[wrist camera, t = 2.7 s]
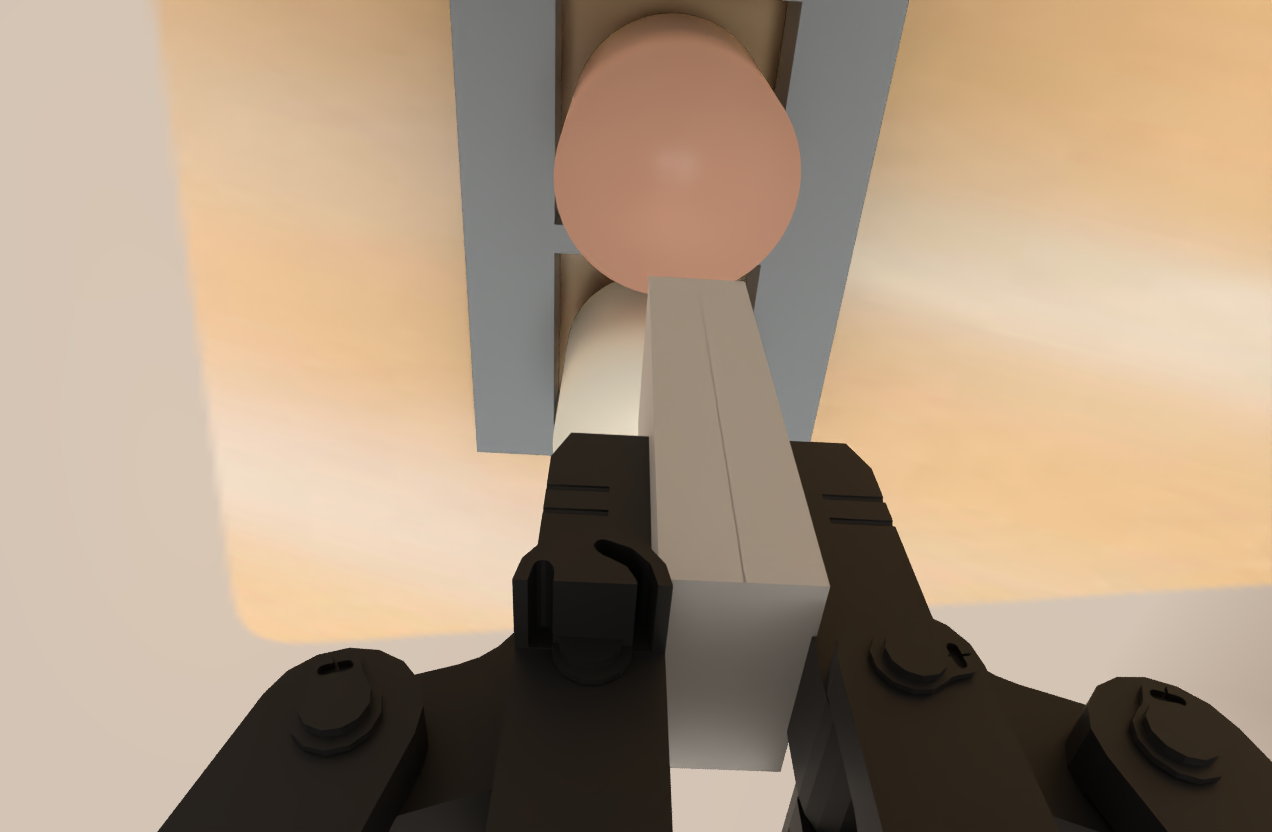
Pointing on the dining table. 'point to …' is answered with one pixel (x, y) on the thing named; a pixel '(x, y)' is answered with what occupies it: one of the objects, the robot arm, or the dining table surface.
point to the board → (535, 236)
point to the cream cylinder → (603, 366)
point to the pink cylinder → (675, 156)
